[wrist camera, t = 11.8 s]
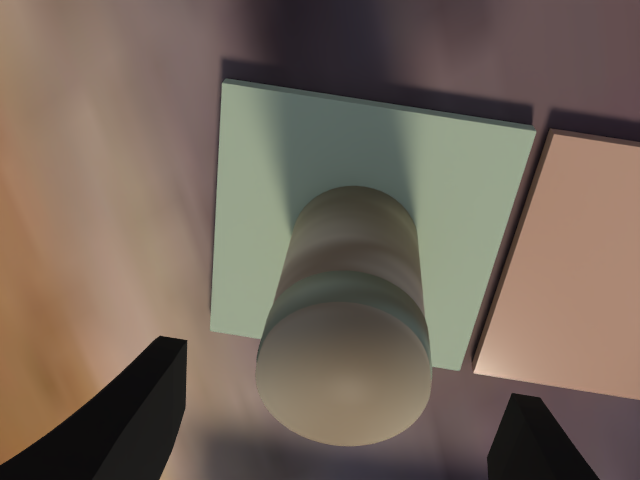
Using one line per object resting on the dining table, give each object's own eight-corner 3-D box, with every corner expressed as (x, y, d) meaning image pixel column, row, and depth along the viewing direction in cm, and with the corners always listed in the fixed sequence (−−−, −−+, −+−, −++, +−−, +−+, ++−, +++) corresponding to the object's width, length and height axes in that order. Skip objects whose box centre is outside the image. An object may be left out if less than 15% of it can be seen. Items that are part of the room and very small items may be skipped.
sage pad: (532, 125, 18) (536, 131, 17) (458, 361, 22) (459, 370, 22) (226, 78, 18) (222, 82, 17) (213, 322, 22) (210, 330, 22)
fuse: (432, 195, 19) (452, 327, 13) (405, 304, 21) (413, 459, 15) (298, 174, 19) (260, 297, 13) (284, 285, 21) (247, 432, 15)
